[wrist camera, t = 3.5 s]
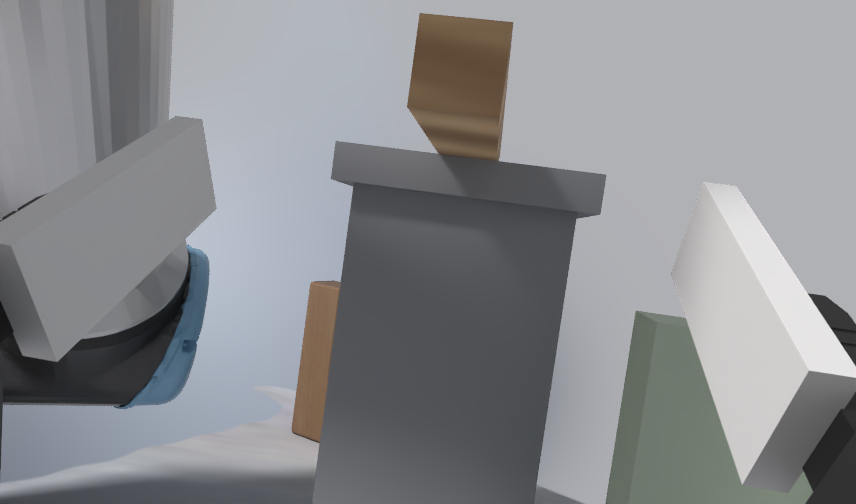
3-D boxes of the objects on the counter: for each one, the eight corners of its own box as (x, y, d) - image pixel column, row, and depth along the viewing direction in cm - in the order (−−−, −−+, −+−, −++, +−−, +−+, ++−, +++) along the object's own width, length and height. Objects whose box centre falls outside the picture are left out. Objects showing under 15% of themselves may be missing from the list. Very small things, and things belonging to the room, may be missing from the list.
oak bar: (499, 117, 18) (512, 22, 18) (407, 106, 18) (419, 13, 18) (495, 187, 46) (500, 150, 46) (458, 182, 46) (463, 146, 46)
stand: (519, 743, 30) (606, 174, 28) (265, 683, 31) (335, 141, 30) (508, 539, 50) (559, 198, 48) (353, 509, 51) (398, 177, 50)
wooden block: (374, 444, 66) (395, 292, 65) (352, 456, 62) (374, 294, 61) (314, 423, 70) (332, 280, 70) (289, 432, 66) (309, 281, 66)
